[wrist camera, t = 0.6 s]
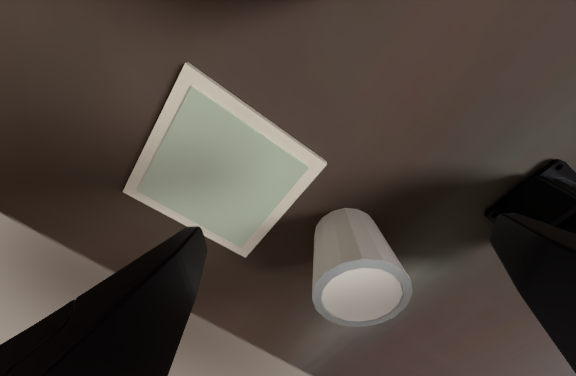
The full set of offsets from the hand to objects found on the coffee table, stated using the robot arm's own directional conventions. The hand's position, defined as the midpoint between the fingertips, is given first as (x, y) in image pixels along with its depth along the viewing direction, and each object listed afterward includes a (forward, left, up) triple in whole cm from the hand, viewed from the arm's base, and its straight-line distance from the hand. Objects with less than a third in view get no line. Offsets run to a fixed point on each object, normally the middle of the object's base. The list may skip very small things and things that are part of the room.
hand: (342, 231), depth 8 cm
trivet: (+3, +8, -13) cm, 15 cm away
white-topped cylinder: (-9, +6, -13) cm, 17 cm away
